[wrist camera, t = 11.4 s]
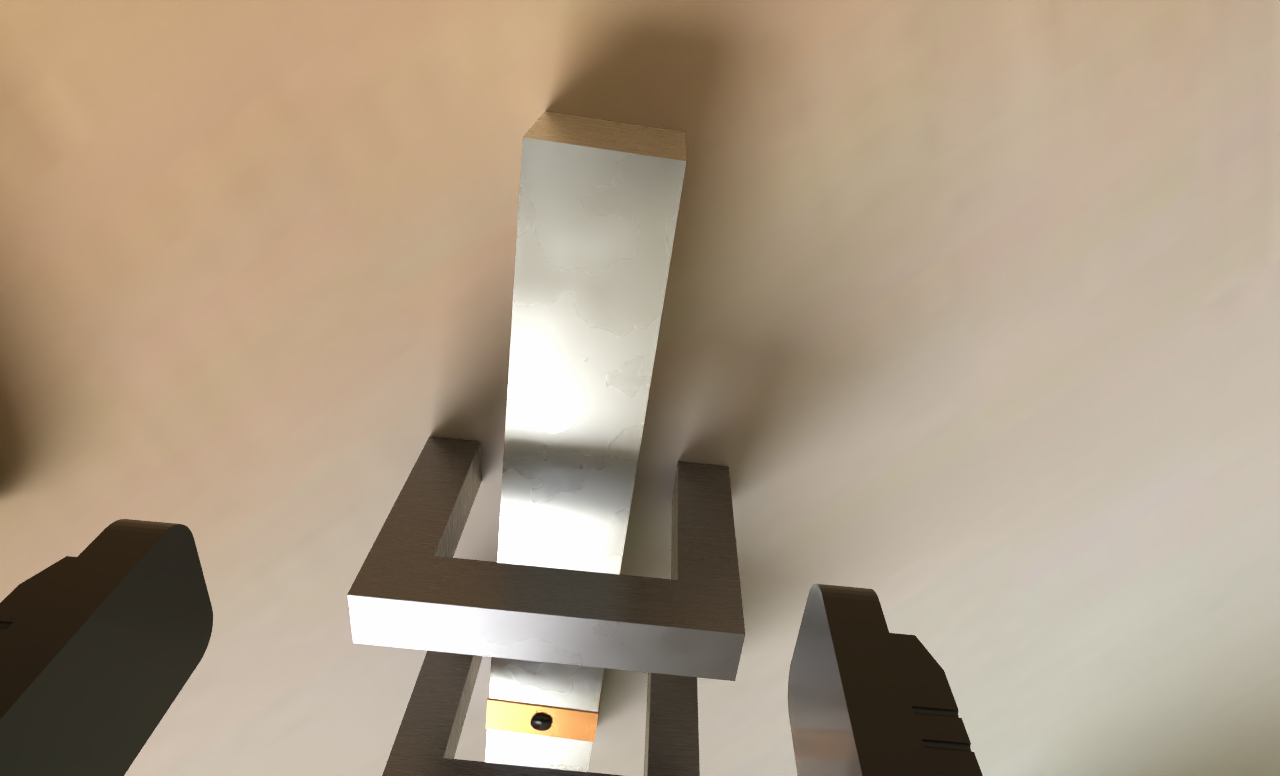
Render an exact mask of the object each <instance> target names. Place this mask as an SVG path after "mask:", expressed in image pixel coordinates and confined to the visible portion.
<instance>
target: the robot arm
mask: <svg viewBox="0 0 1280 776" xmlns="http://www.w3.org/2000/svg"><path fill="white" fill-rule="evenodd" d="M212 625H213V611H212V606H211V602H210V598H209V595H208V591H207V587H206V583H205V579H204V576H203V572H202V568H201V564H200V560H199V556H198V553H197V549H196V545H195V541H194V538H193V535H192V533H191V531H190V529H189V528H188V527H187V526H185V525H182V524H173V523H162V522H151V521H140V520H129V519H121V520H118V521H115V522H113V523H112V524H110V525H109V526H108V527H107V528H105V529H104V530H103V532H102V533H101V534H100V535H99V536H98V537H97V538H96V539H95V540H94V541H93V542H92V543H91V544H90V545H89V546H88V547H87V548H86V549H85V550H84V551H83V552H82V553H81V554H80V555H79V556H78V557H69V556H66V557H65V558H63V559H61V560H60V561H58V562H56V563H55V564H53V565H51V566H50V567H48V568H46V569H45V570H43V571H41V572H40V573H38V574H36V575H35V576H33V577H31V578H30V579H28V580H26V581H25V582H23V583H21V584H19V585H18V586H17V587H16V588H15V589H14V590H13V591H12V592H11V593H10V594H9V595H8V596H7V597H6V598H5V599H4V600H3V601H2V602H1V603H0V776H124V774H125V773H126V771H127V770H128V768H129V767H130V765H131V764H132V762H133V761H134V759H135V758H136V756H137V755H138V754H139V752H140V751H141V749H142V748H143V746H144V745H145V743H146V742H147V740H148V739H149V737H150V736H151V734H152V733H153V731H154V730H155V728H156V727H157V725H158V724H159V722H160V721H161V719H162V718H163V716H164V715H165V713H166V712H167V710H168V709H169V707H170V706H171V704H172V703H173V701H174V700H175V698H176V697H177V695H178V694H179V692H180V691H181V689H182V688H183V686H184V685H185V683H186V682H187V680H188V679H189V677H190V676H191V674H192V673H193V671H194V670H195V668H196V667H197V665H198V664H199V662H200V660H201V659H202V657H203V655H204V653H205V651H206V649H207V646H208V643H209V640H210V636H211V632H212ZM788 708H789V718H790V725H791V732H792V738H793V745H794V752H795V759H796V766H797V773H798V776H983V775H982V773H981V770H980V767H979V765H978V762H977V759H976V756H975V754H974V752H971V749H970V744H971V743H970V740H969V737H968V735H967V732H966V729H965V727H964V724H963V721H962V718H959V717H958V708H957V705H956V702H955V699H954V697H953V694H952V691H951V689H950V686H949V683H948V680H947V678H946V675H945V672H944V670H943V669H942V668H941V666H940V665H939V664H938V663H937V662H936V660H935V659H934V658H933V657H932V656H931V654H930V653H929V652H928V651H927V649H926V648H925V647H924V646H923V645H922V643H921V642H920V641H919V640H918V639H917V637H916V636H915V635H905V634H894V633H889V631H888V628H887V624H886V621H885V618H884V615H883V611H882V608H881V605H880V602H879V599H878V596H877V594H876V593H875V591H874V590H872V589H865V588H854V587H843V586H832V585H821V584H814V585H813V586H812V587H811V589H810V592H809V595H808V599H807V603H806V607H805V611H804V614H803V618H802V622H801V626H800V630H799V634H798V638H797V642H796V646H795V649H794V653H793V657H792V661H791V666H790V672H789V682H788Z"/></svg>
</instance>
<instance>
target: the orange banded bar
mask: <svg viewBox="0 0 1280 776" xmlns="http://www.w3.org/2000/svg"><path fill="white" fill-rule="evenodd" d="M685 168H686V140H685V132H682V131H675V130H669V129H662V128H655V127H649V126H642V125H635V124H628V123H622V122H615V121H608V120H601V119H595V118H588V117H581V116H575V115H568V114H561V113H554V112H548V111H545V112H544V113H543V114H542V116H541V117H540V118H539V119H538V120H537V121H536V122H535V124H534V125H533V126H532V127H531V128H530V129H529V131H528V132H527V133H526V134H525V135H524V136H523V142H522V159H521V176H520V192H519V209H518V226H517V242H516V259H515V276H514V292H513V309H512V326H511V342H510V359H509V376H508V392H507V409H506V426H505V442H504V459H503V476H502V492H501V509H500V526H499V542H498V559H497V562H499V563H509V564H519V565H529V566H539V567H549V568H559V569H569V570H579V571H589V572H599V573H609V574H619V575H620V569H621V563H622V557H623V550H624V544H625V538H626V532H627V526H628V519H629V513H630V507H631V501H632V495H633V489H634V482H635V476H636V470H637V464H638V458H639V452H640V445H641V439H642V433H643V427H644V421H645V415H646V408H647V402H648V396H649V390H650V384H651V377H652V371H653V365H654V359H655V353H656V347H657V340H658V334H659V328H660V322H661V316H662V310H663V303H664V297H665V291H666V285H667V279H668V273H669V266H670V260H671V254H672V248H673V242H674V235H675V229H676V223H677V217H678V211H679V205H680V198H681V192H682V186H683V180H684V174H685ZM603 674H604V668H599V667H588V666H578V665H568V664H558V663H548V662H538V661H528V660H518V659H508V658H497V657H492V659H491V676H490V692H489V696H488V700H487V716H486V729H487V742H486V759H485V762H488V763H499V764H509V765H519V766H529V767H540V768H550V769H560V770H570V771H580V772H588V766H589V760H590V754H591V748H592V742H594V738H595V732H596V726H597V720H598V713H599V704H600V694H601V686H602V680H603Z"/></svg>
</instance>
